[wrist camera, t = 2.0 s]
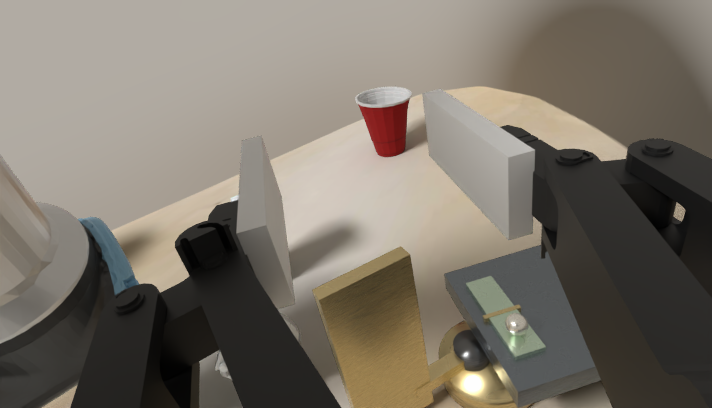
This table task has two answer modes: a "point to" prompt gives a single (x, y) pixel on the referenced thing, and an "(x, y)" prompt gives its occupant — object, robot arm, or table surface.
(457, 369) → the brass panel with base
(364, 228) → the table surface
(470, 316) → the levelling stand
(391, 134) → the plastic cup
